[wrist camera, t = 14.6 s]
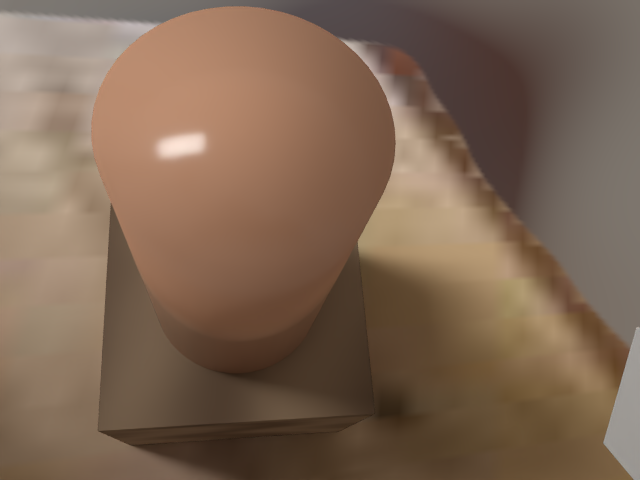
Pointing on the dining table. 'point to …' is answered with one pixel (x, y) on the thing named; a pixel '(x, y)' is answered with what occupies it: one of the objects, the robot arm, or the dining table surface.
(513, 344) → the dining table surface
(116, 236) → the walnut crate
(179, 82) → the dome-topped peach cylinder
